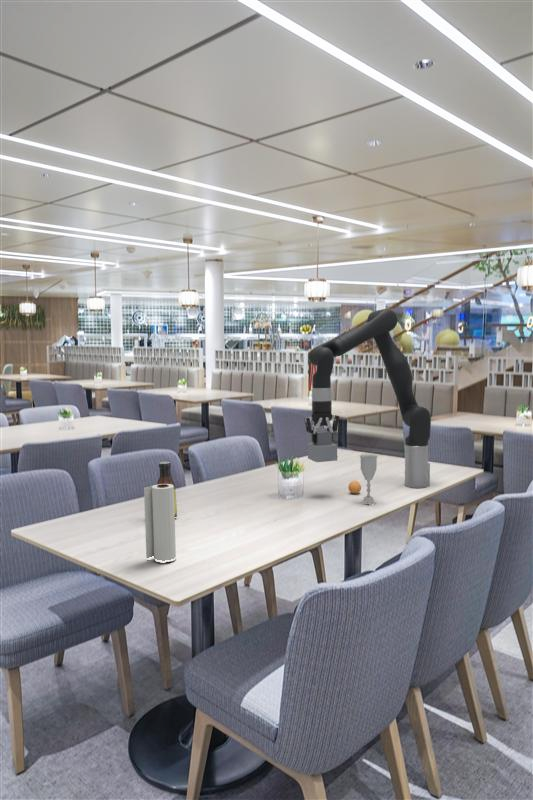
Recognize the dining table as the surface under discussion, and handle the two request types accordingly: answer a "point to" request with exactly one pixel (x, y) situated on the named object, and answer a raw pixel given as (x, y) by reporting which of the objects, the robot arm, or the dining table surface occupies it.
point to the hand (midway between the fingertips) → (322, 442)
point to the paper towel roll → (160, 521)
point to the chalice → (368, 473)
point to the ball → (354, 487)
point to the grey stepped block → (323, 448)
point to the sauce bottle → (167, 479)
